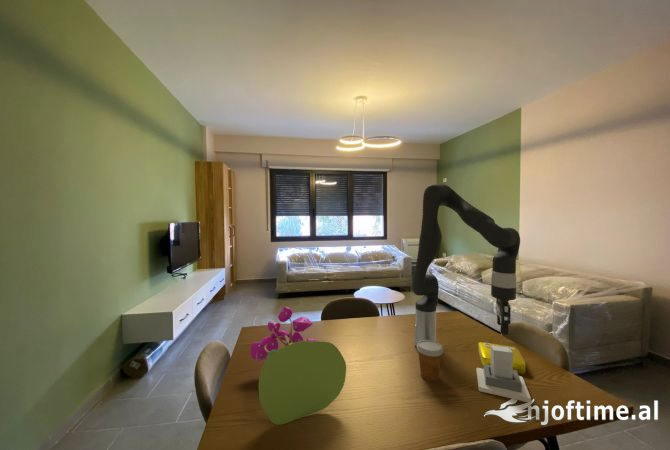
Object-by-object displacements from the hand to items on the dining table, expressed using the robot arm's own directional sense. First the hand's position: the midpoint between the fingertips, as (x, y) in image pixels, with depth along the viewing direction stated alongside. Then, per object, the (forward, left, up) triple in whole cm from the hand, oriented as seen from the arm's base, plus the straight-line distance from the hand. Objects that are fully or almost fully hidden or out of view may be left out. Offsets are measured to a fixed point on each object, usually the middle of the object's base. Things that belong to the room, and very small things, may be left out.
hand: (502, 329), depth 97 cm
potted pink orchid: (-69, -28, -21) cm, 78 cm away
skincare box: (0, 0, -19) cm, 19 cm away
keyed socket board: (0, 0, -21) cm, 21 cm away
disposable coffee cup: (-24, -4, -21) cm, 32 cm away
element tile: (+2, +19, -21) cm, 28 cm away
